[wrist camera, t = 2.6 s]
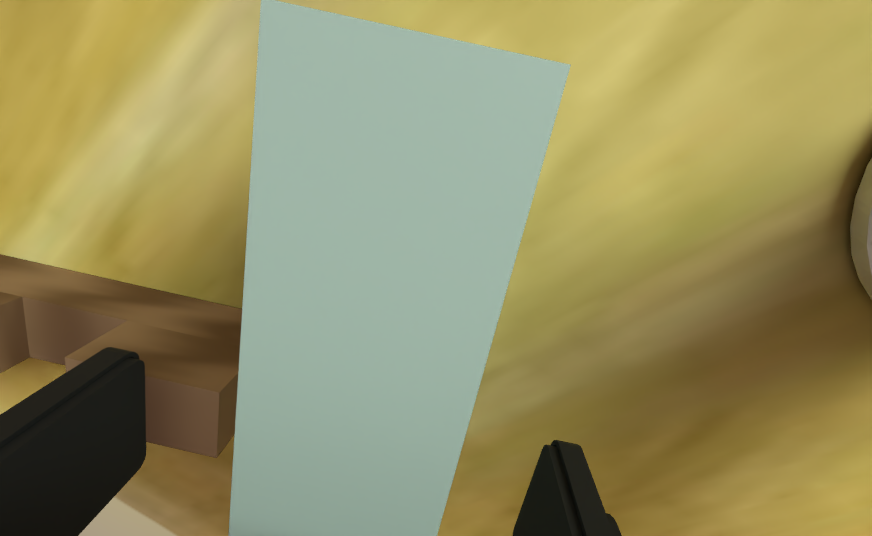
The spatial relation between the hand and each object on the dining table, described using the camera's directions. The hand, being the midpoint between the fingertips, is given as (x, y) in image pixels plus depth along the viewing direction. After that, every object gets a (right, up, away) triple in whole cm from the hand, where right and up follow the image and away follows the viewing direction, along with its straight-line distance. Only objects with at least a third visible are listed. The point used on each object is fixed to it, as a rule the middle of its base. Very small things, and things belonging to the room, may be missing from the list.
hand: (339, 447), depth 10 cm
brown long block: (-13, +2, +12) cm, 18 cm away
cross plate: (+2, +4, +10) cm, 11 cm away
